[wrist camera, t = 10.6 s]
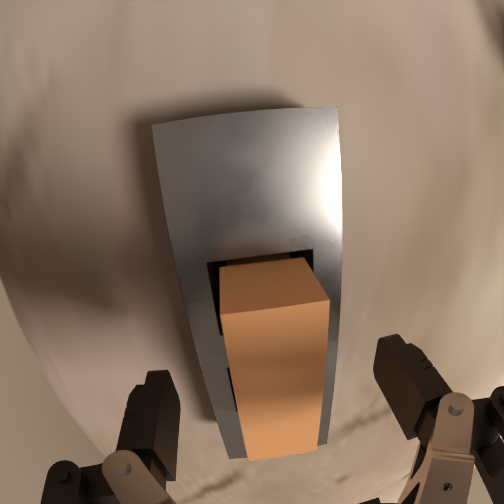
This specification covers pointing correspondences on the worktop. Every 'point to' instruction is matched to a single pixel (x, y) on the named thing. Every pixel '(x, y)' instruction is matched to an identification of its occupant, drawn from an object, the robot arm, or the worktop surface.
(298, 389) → the orange rectangular block
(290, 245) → the grey holed flat block
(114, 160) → the worktop surface
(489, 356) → the worktop surface
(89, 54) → the worktop surface
